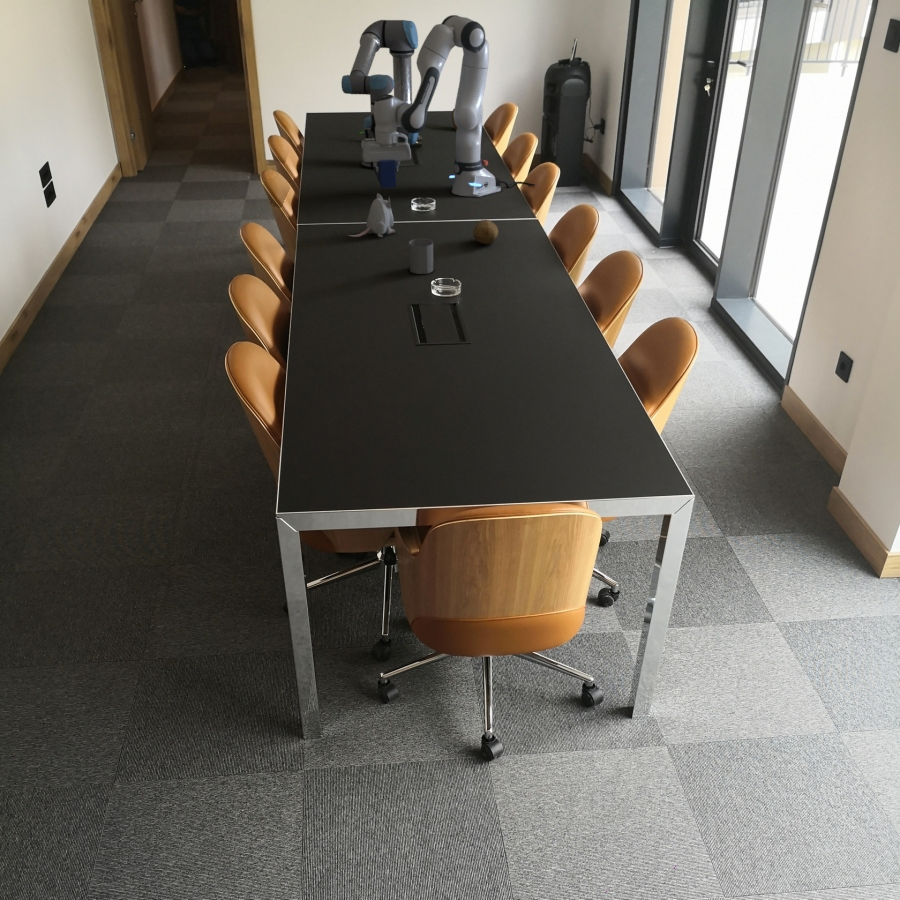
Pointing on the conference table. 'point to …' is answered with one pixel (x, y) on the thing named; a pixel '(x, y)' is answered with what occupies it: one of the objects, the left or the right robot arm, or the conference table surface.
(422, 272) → the cup
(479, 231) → the potato
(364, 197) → the conference table surface
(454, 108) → the apple
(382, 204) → the toy
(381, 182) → the box
